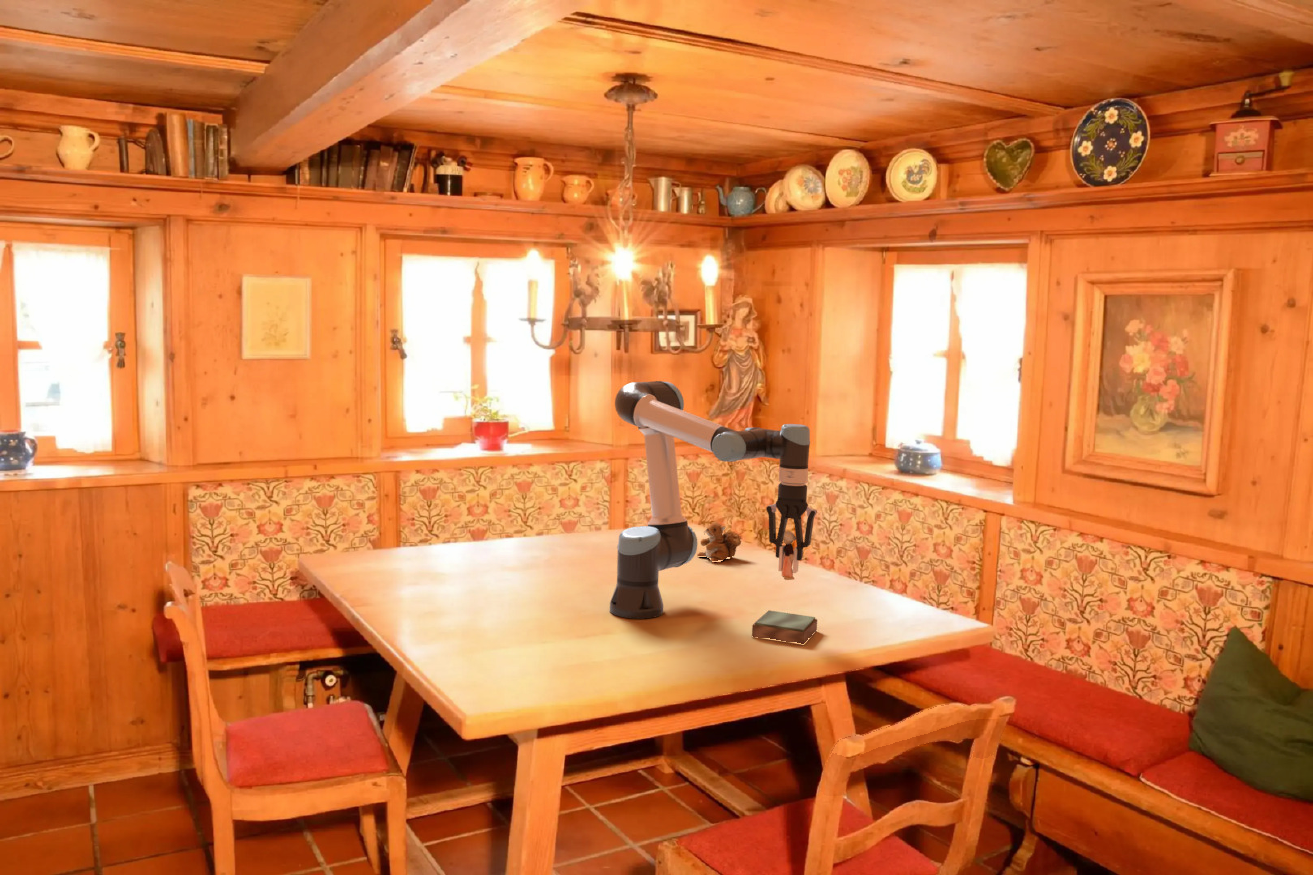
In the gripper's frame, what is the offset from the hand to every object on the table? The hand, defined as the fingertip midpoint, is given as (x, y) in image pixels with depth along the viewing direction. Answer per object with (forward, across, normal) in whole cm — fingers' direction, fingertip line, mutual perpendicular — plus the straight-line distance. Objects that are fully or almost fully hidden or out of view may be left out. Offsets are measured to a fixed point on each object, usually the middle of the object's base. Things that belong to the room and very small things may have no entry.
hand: (788, 570), depth 277 cm
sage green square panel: (+17, 0, 0) cm, 17 cm away
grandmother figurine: (+2, 0, 0) cm, 2 cm away
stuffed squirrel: (+18, -43, +74) cm, 87 cm away
